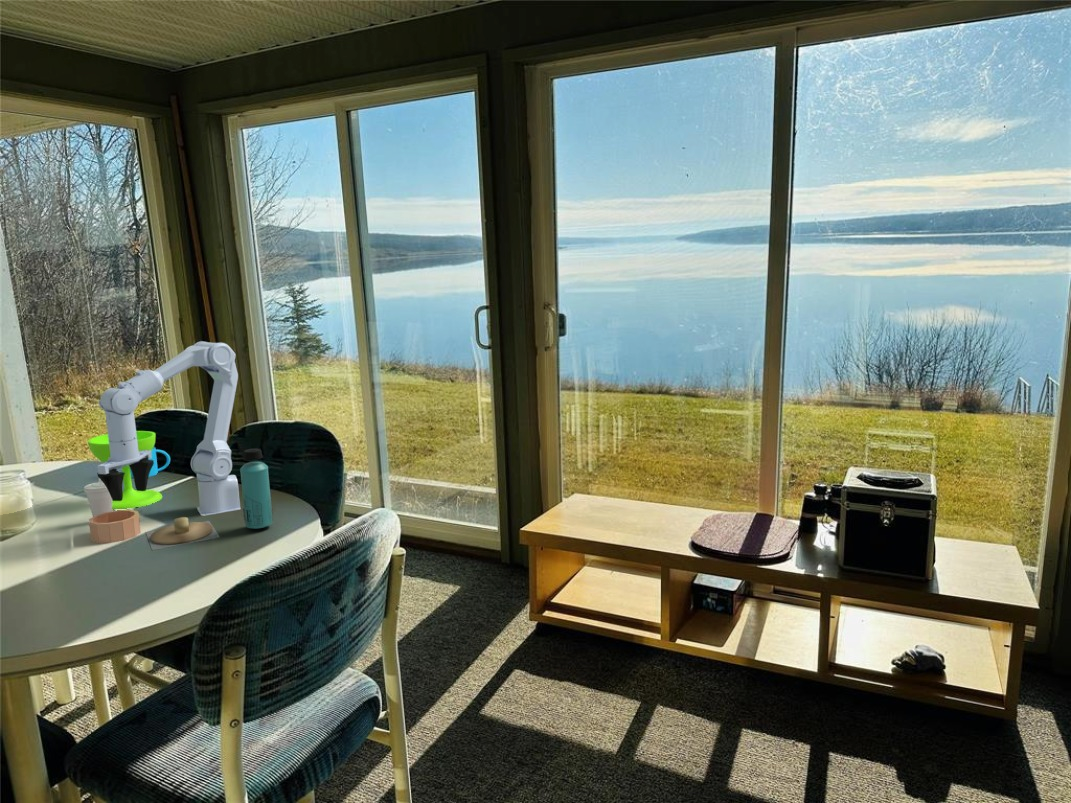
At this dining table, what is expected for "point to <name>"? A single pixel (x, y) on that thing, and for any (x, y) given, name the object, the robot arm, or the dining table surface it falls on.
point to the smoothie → (98, 498)
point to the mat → (159, 546)
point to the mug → (154, 468)
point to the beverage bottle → (256, 491)
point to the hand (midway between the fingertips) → (129, 495)
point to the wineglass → (127, 470)
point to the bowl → (114, 526)
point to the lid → (181, 532)
